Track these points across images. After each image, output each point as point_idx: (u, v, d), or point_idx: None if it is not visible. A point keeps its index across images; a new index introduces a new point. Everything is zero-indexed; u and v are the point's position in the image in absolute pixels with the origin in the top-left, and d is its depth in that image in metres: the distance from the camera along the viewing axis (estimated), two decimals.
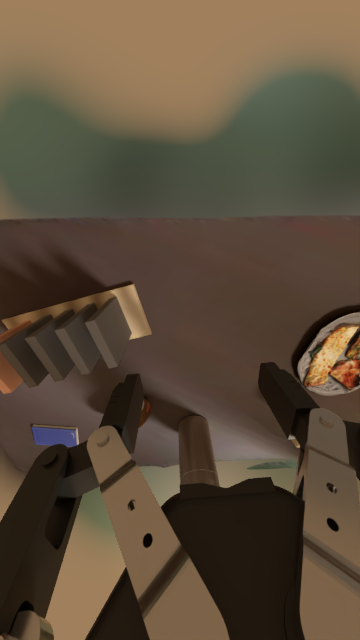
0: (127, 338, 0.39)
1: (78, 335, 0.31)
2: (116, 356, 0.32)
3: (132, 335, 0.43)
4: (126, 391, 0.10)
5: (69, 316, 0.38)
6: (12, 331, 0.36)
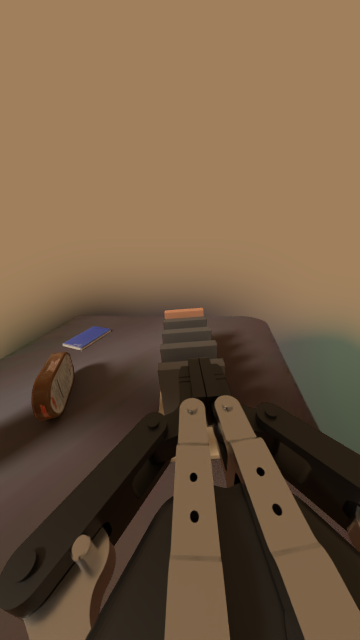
0: None
1: None
2: (168, 376, 0.25)
3: None
4: (194, 371, 0.11)
5: None
6: None
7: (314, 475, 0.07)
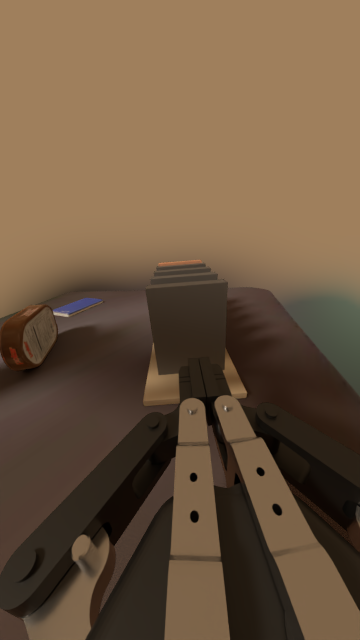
0: (160, 353, 0.24)
1: None
2: (158, 298, 0.21)
3: (153, 375, 0.25)
4: (194, 371, 0.11)
5: None
6: None
7: (314, 475, 0.07)
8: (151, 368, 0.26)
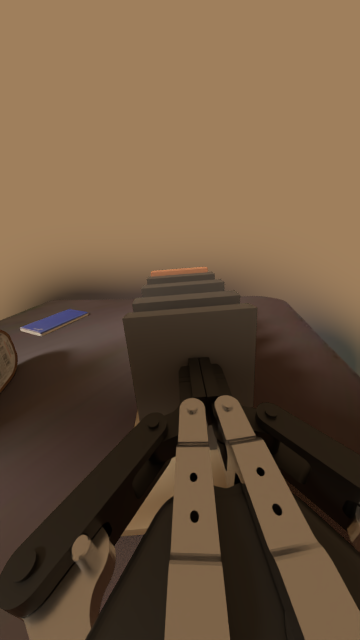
0: None
1: None
2: (144, 333, 0.13)
3: None
4: (194, 371, 0.11)
5: None
6: None
7: (314, 475, 0.07)
8: None
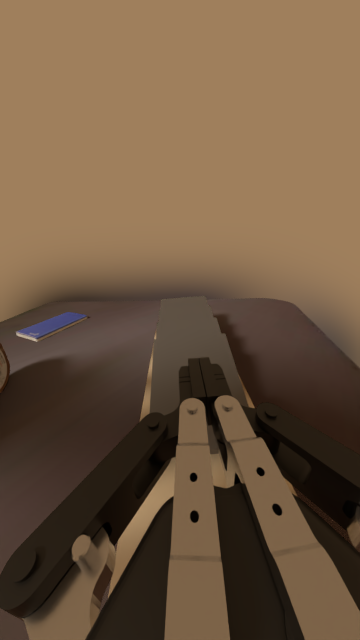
0: (156, 407, 0.17)
1: (202, 328, 0.26)
2: (164, 345, 0.22)
3: None
4: (194, 371, 0.11)
5: None
6: None
7: (314, 475, 0.07)
8: None
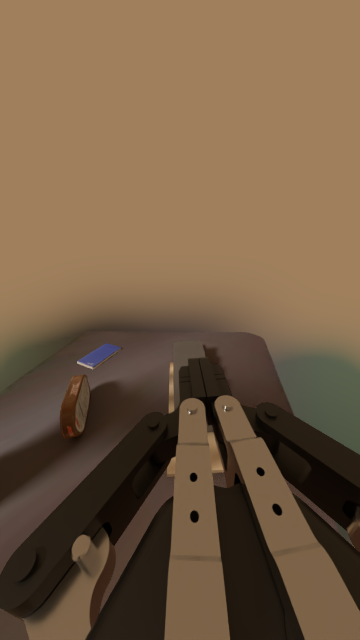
0: None
1: None
2: (178, 380, 0.43)
3: None
4: (194, 371, 0.11)
5: None
6: None
7: (314, 475, 0.07)
8: None
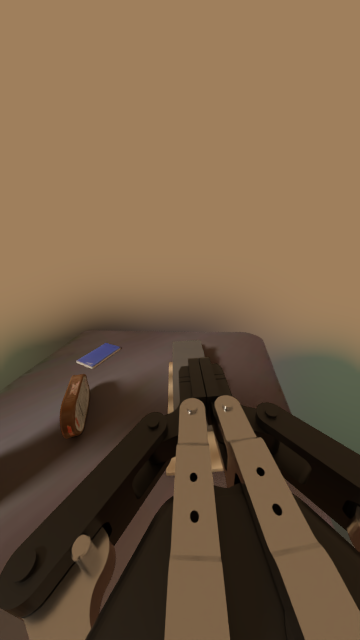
0: None
1: None
2: (178, 380, 0.44)
3: None
4: (194, 371, 0.11)
5: None
6: None
7: (314, 475, 0.07)
8: None
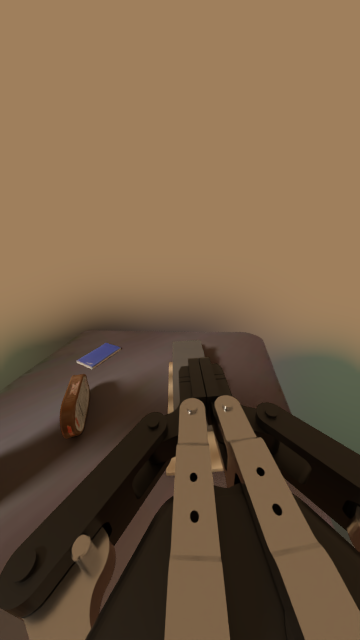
0: None
1: None
2: (178, 380, 0.44)
3: None
4: (194, 371, 0.11)
5: None
6: None
7: (314, 475, 0.07)
8: None
